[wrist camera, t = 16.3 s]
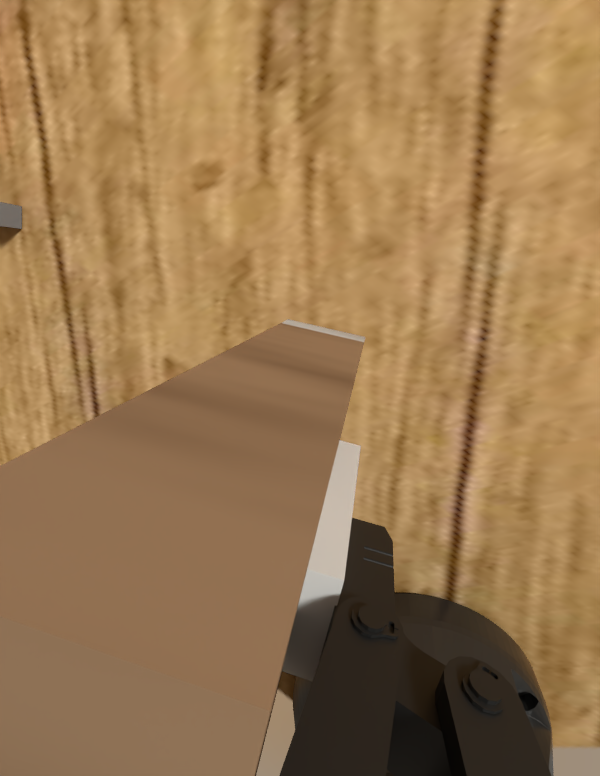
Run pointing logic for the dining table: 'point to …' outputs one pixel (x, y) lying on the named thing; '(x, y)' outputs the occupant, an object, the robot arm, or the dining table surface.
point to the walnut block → (167, 563)
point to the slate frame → (10, 215)
